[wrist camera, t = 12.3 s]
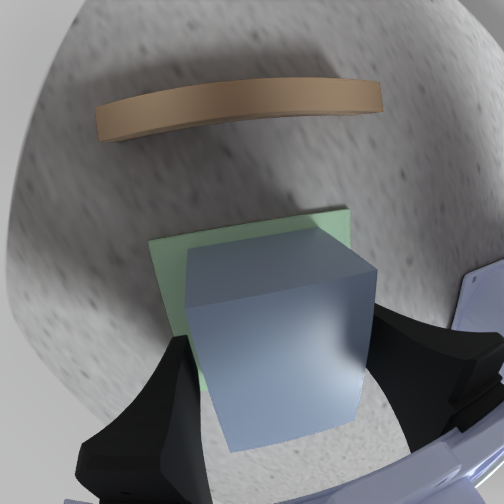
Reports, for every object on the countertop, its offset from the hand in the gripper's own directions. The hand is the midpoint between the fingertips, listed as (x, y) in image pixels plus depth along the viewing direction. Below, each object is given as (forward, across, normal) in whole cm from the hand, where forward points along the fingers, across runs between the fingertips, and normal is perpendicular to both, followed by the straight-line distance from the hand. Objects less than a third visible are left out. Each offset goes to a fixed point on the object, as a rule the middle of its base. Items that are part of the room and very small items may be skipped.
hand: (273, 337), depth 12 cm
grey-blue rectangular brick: (+2, 0, 0) cm, 2 cm away
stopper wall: (+2, 0, -9) cm, 10 cm away
